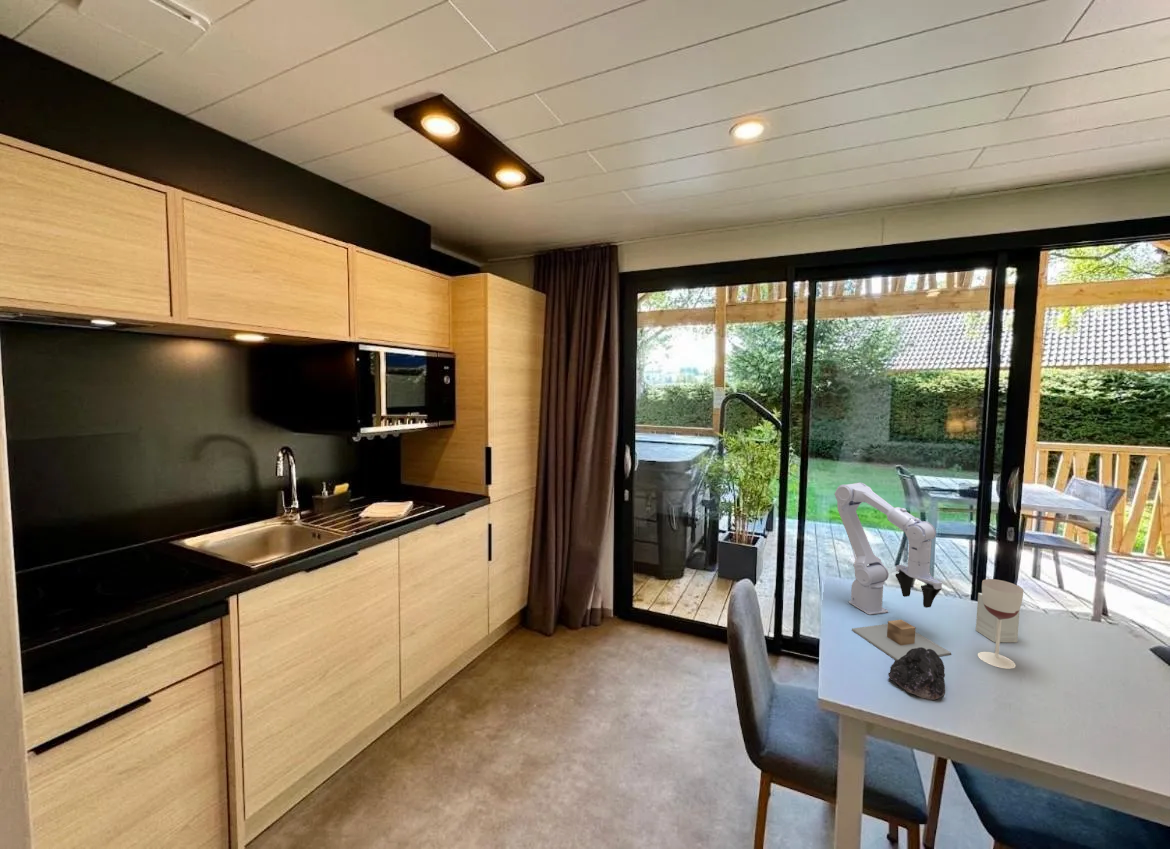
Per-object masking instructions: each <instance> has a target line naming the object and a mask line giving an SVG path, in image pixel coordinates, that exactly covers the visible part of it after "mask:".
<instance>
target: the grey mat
mask: <svg viewBox="0 0 1170 849" xmlns="http://www.w3.org/2000/svg"><path fill="white" fill-rule="evenodd" d="M887 627H888V623H884V624H877V625H868V626H862V627H854V628H851V631H852V632H853V633H855V634H856V635H857V636H860V638H863V639H864V640H865V641H867V642H868V643H870V644H871V645H873V646H874V647H876V648H877V649H879V650H880V651H882V652H883V653H884V654H886V655H888V656H889V657H890V658H892V659H893V660H894V661H895V660H899V659H900V658H901V657H903V656H904V655H906V654H907V652H908V651H909V650H911V649H915V648H919V647H923V648H925V649H926V650H927V649H932V650H934V651H935V652H936V653H937V655H938V656H939V657H945V656H952V652H951V651H950V650H948V649H946V648H944V647H942V646H940V645H939V644H937V643H935V642H933V641H932V640H930V639H928V638H927V637H925V636H924V635H922V634H920V633H919V632H916V631H915V643H914V644H907V645H899V644H898V643H896V642H894V641H893V640H891V639H890V638H888V637H887Z"/></svg>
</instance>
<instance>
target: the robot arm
mask: <svg viewBox="0 0 1170 849" xmlns="http://www.w3.org/2000/svg"><path fill="white" fill-rule="evenodd" d="M834 497H835V499H836V501H837V506H836V507H837V512H838V514H839V516H840V519H841V522H842V524H843V527H844V529H845V532H846V535H847V537H848V539H849V542H850V544H851V547H852V549H853V553H854V555H855V558H856V559H855V560H854V563H853V566H852V567H853V568H854V577H855V580H854V581H853V582H852V584H851V592H850V594H851V595H850V600H849V601H848V603H849V604H850V605H853V606H854V607H856V608H858V609H859V611H860V610H861V612H864V613H866V614H867V615H870V616H871V615H878V614H885V613H889V610H888V609H886V608H884V607H883V596H884V595H883V594H884V585H885V582H886V581H887V580H888V579H889V576H890V575H889V574H890V573H889V570H888V568H887V567H886V566H885V565H884V563H883V562H882V560H881V558H880V557H878V556H876V555H875V554H874V552H873V550H872V547H871V545H870V542H869V540H868V538H867V535H866V533H865V530H864V527H863V525H862V523H861V520H860V518H859V516H858V513H857V511H858V509H859V506H860V505H861V504H862V503H867V504H868V505H869V506H871V507H873V508H874V509H876V510H877V511H879V512H880V513H882V514H884V515H886V518H887V520H888V521H889V523H891V524H892V525H894V526H895V527H897V528H898V529H900V530H901V531H902V532H904V534H905V536H906V538H907V539H908V540H907V541H908V555H907V557H908V558H907V565H906V566H905V565H903V564H896V565H895V566H896V567H895V572H897V573H895V577H896V580H897V581H898V584H899V587H900V591H901V594H902V596H903V597H904V598H905V597H906V598H907V597H910V595H911V589H912V584H913V580H914V579H915V580H917V581H920V582H922V583H924V585H921V586H920V588H921V591H922V596H923V597H922V605H923V608H926V609H927V608H931V607H932V604H933V602H934V601H935V598H936V596H937V595H938V594H939V593H940V592H941V591H942V587H943V582H942V581H939V580H937V578H935V577H933V576H932V575H931V573H930V567H931V554H932V540H934V539H935V538H936V537H937V536H936V535H937V531H936V528H935V526H934V525H933V524H932V523H931V522H929V521H927V520H925V521H924V520H921V519H920V518H919V517H915V516H914V515H913V514H911V513H909V512H908V510H907V509H906V508H905V507H900V506H896V507H894V506H893V505H891V504H890V503H889V502H887V501H886V500H885V499H884V498H883V497H881V496H880V495H878V494H877V493H875V492H874V491H873V490H872V487H871V486H869V485H867V484H865V483H863V482H860V481H859V482H855V483H848V484H839V485H838V486H837V488H836V490H835V492H834Z"/></svg>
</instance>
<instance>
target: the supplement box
mask: <svg viewBox="0 0 1170 849" xmlns="http://www.w3.org/2000/svg"><path fill="white" fill-rule="evenodd" d="M1020 611H1021V609H1020V610H1019V612H1018V614H1017V615H1016V616H1015V617H1013V618H1009V619H1002V621H1001V633H1000V643H1018V639H1019V638H1018V637H1019V623H1020V622H1019V621H1020ZM975 620H976V621H975V622H976V623H975V631H976V632H977V633H979V634H980V635H982V636H984V637H985V638H986V639H988V640H990V641H991V642H993V643H996V634H997V622H998V618H997V617H995V616H993V615H992V614H991V613H990V612H988V611H987V609H986V608H985V606H984V603H983V600H982V592H978V593H977V604H976V619H975Z"/></svg>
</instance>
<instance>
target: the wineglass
mask: <svg viewBox="0 0 1170 849" xmlns="http://www.w3.org/2000/svg"><path fill="white" fill-rule="evenodd" d="M981 593H982V600H983V603H984V606H985V608H986V609H987V611H988V612H990V613H991V614H992V615H993V616H995V617H997V618H998V622H997V634H996V642H995V646H994V647H995V648H994V652H991V651H981V652H978V653H977V657H978V658H979V659H980V660H981V661H982V662H984V663H985V664H989V665H991V666H993V667H996V668H997V667H998V668H1000V669H1007V670H1010V669H1012V670H1013V669H1015V668H1016V663H1015V661H1013V660H1011V659H1010V658H1008V657H1006V656H1005V655H1002V654H1000V643H1001V642H1000V633H1001V621H1002V619H1009V618H1013V617H1015V616H1016V615H1017V614H1018V612H1019V613H1020V611H1021V607H1022V603H1023V597H1024V589H1023V588H1022V587H1020V586H1019V585H1017V584H1014V583H1012V582H1009V581H1006V580H1001V579H996V578H995V579H994V578H986V579H982V582H981ZM1019 610H1020V611H1019Z"/></svg>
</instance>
